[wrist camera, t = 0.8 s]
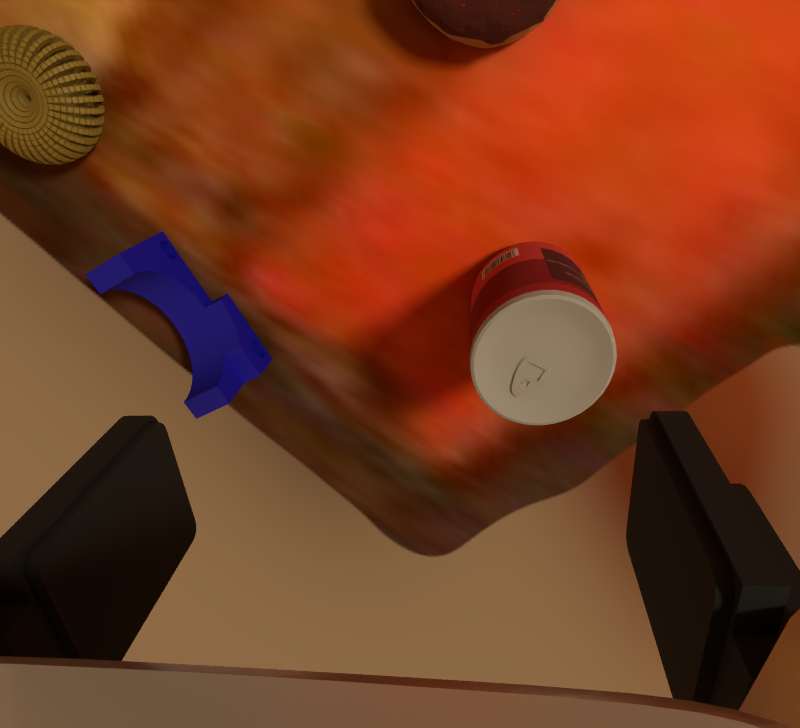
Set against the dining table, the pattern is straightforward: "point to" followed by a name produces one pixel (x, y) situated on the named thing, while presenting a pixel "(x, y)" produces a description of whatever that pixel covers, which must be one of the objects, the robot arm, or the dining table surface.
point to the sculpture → (46, 97)
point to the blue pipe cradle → (190, 320)
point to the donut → (485, 19)
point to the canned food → (538, 336)
